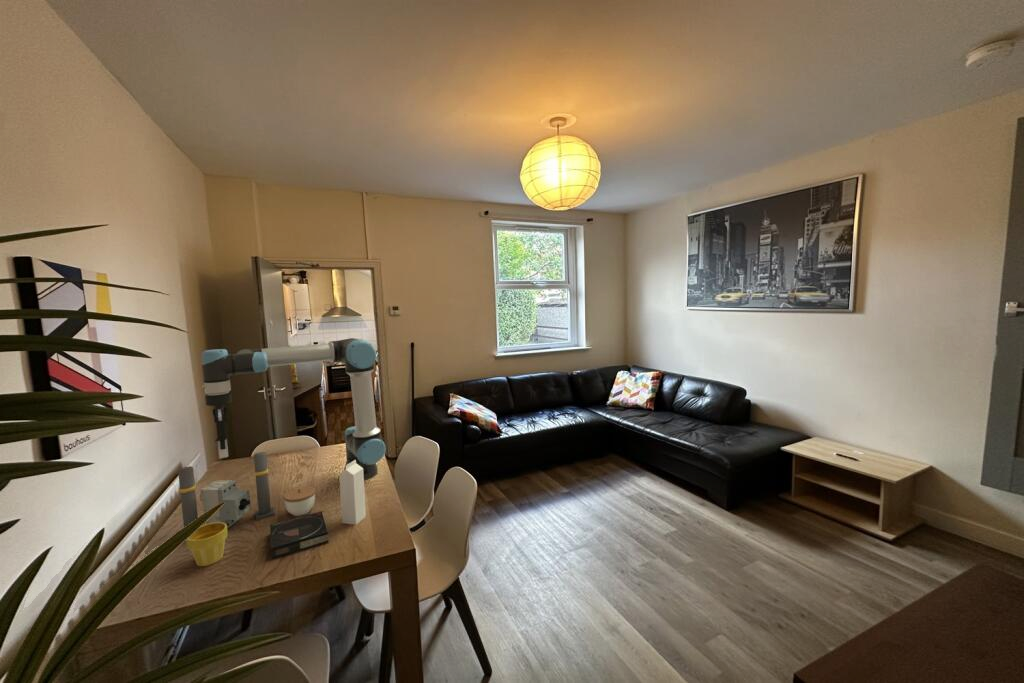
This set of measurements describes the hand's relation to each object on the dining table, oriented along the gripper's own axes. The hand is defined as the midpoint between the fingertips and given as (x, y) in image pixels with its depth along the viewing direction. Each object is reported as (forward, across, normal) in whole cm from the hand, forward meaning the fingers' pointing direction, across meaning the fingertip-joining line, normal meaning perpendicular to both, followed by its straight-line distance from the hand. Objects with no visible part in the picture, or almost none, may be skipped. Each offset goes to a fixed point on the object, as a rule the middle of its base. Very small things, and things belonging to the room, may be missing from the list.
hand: (223, 457), depth 145 cm
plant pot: (+26, +22, -6) cm, 34 cm away
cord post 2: (+26, 0, +11) cm, 28 cm away
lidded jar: (+26, +6, +22) cm, 35 cm away
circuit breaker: (+26, 0, 0) cm, 26 cm away
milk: (+26, +25, +37) cm, 52 cm away
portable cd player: (+26, +26, +19) cm, 42 cm away
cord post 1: (+26, 0, -11) cm, 28 cm away
